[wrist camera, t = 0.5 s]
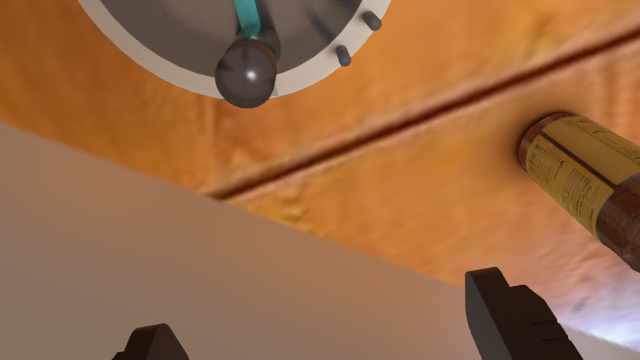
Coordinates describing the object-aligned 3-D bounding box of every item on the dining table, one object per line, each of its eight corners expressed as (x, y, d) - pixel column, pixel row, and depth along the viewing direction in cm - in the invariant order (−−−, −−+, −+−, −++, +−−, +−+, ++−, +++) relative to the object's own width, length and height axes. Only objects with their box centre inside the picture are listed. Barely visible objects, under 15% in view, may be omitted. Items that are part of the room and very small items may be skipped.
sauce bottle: (542, 185, 36) (755, 404, 19) (499, 148, 34) (697, 357, 17) (606, 133, 34) (918, 331, 17) (565, 89, 31) (875, 265, 14)
